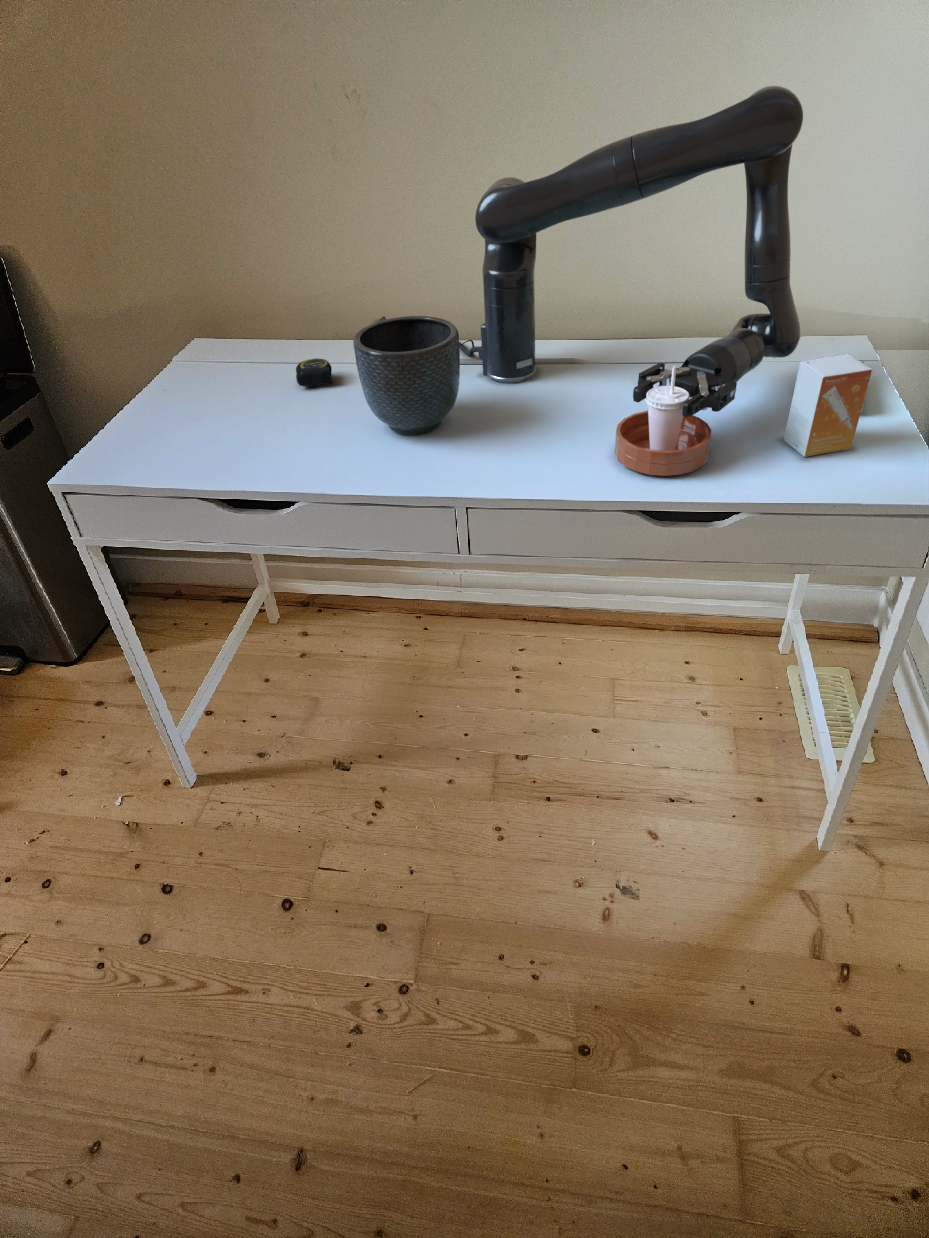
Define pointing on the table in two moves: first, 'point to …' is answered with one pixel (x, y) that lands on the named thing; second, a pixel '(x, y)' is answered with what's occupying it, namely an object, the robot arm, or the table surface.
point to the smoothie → (665, 414)
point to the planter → (409, 371)
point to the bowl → (640, 458)
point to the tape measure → (313, 372)
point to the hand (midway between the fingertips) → (659, 403)
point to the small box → (826, 404)
